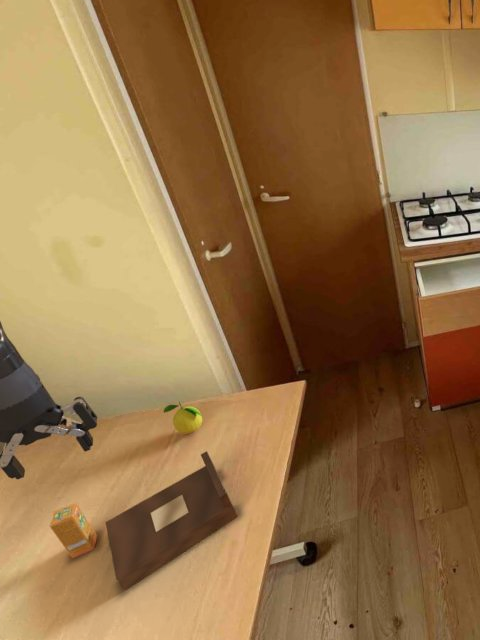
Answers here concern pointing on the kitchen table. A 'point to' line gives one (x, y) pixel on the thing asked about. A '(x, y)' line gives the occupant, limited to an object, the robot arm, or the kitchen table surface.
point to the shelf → (168, 524)
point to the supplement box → (73, 530)
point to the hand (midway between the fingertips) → (56, 460)
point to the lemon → (185, 418)
